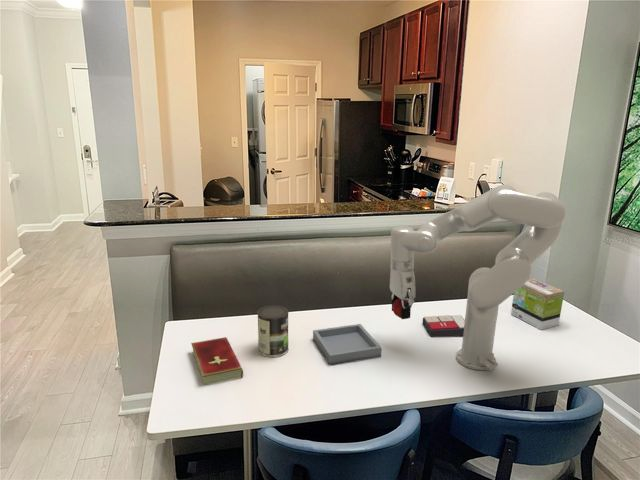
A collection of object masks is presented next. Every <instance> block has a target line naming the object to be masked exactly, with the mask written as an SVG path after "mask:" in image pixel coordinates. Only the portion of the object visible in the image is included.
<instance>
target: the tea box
mask: <svg viewBox="0 0 640 480" xmlns="http://www.w3.org/2000/svg"><path fill="white" fill-rule="evenodd" d="M564 295H565V290H562V289H560V288H558V287H556V286H553V285H550V284H548V283H546V282H543V281H541V280H539V279H537V278H535V277H532V278H530V277H529V279H528V280H527V282H526V283H525V284H524V285H523V286H522V287H521V288H519V289H518V290H517V291H516V292H515V293H513V296H512V304H511V309H510V311H511V312H510V315H512V316H514V317H516V318H518V319H520V320H521V321H524V322H526V323H527V324H529V325H531V326H533V327H534V328H537V329H538V330H540V331H543V330H546V329H550V328H553V327H557V326H559V323H560V318H561V314H562V313H561V312H562V307H563V302H564Z"/></svg>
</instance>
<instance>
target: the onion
mask: <svg viewBox="0 0 640 480" xmlns="http://www.w3.org/2000/svg"><path fill="white" fill-rule="evenodd" d="M407 302H408V300H405V304H406V303H407ZM401 308H403V307H402V301H401V299H400V298H399V299H397V300H396V301H395V302H394V303H393V306H392V305H391V310H392V309H393V311H392V312H393V314H394V315H395V316H396V317H398V318H400V319H401Z"/></svg>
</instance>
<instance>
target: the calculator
mask: <svg viewBox="0 0 640 480" xmlns="http://www.w3.org/2000/svg"><path fill="white" fill-rule="evenodd" d="M464 323H465V317H463V316H462V315H461V314H455V315H453V314H452V315H448V314H445V315H431V316H430V315H429V316H424V317H423V318H422V325H423V327H424V329H425V331H426V332H427V334H428V335H429V337H430V338H450V337H462V338H463V332H464Z"/></svg>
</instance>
